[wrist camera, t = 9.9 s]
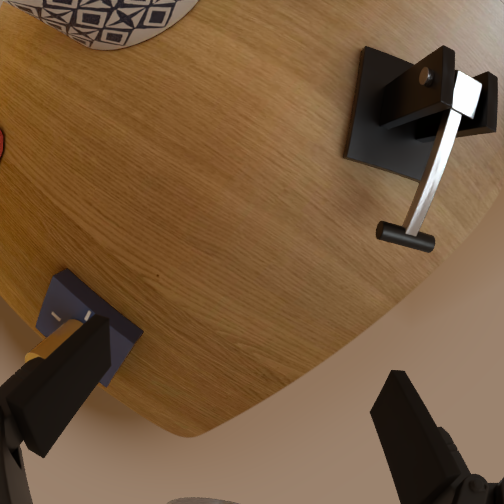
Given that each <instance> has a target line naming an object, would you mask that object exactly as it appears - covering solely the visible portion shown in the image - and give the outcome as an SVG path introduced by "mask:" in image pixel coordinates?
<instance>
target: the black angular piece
mask: <svg viewBox="0 0 504 504" xmlns="http://www.w3.org/2000/svg"><path fill="white" fill-rule="evenodd" d="M454 75H455V51H454V50H452V49H450V48H448V47H446V46H444V45H442V46H441V47H440V48H438V49H437V50H435V51H434V52H432V53H431V54H429V55H428V56H426V57H425V58H424V59H422V60H421V61H419V62H418V63H416V64H415V65H414V64H412V63H409V62H407V61H404V60H402V59H400V58H397V57H395V56H392V55H389V54H387V53H384V52H381V51H379V50H376V49H373V48H370V47H367V46H365V47H364V48H363V50H362V51H361V58H360V64H359V71H358V78H357V84H356V90H355V96H354V102H353V108H352V114H351V119H350V125H349V130H348V135H347V140H346V145H345V150H344V155H343V158H344V159H347V160H351V161H354V162H358V163H361V164H365V165H368V166H371V167H374V168H378V169H381V170H384V171H387V172H390V173H393V174H396V175H399V176H402V177H405V178H408V179H411V180H413V181H416V182H419V183H420V181H421V178H422V176H423V173H424V170H425V167H426V165H427V162H428V159H429V156H430V153H431V150H432V147H433V144H434V141H435V138H436V135H437V132H438V128H439V125H440V122H441V118H442V115H443V112H444V110H446V109H449V108H452V107H453V95H454ZM472 78H473V79H475V80H476V81H478V82H480V83H481V84H482V88H481V92H480V96H479V100H478V104H477V107H476V111H475V115H474V118H473V119H471V118H468V117H466V116H463V115H462V117H461V121H460V124H459V127H458V131H457V134H456V137H463V136H470V135H477V134H485V133H493V132H496V127H497V105H498V78H497V77H496V76H495V75H493V74H492V73H490V72H489V71H487V72H485V73H482V74H480V75H477V76H475V77H472ZM456 137H455V138H456Z"/></svg>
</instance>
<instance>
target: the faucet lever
mask: <svg viewBox="0 0 504 504" xmlns="http://www.w3.org/2000/svg"><path fill="white" fill-rule="evenodd" d="M481 88H482V84H481V83H480V82H478V81H476V80H475V79H473V78H471V77H470V76H468V75H466V74H465V73H463V72H461V71H459V70H455V75H454V95H453V107H452V108H449V109H446V110H444V112H443V115H442V118H441V122H440V125H439V128H438V132H437V135H436V138H435V141H434V144H433V147H432V150H431V153H430V156H429V159H428V162H427V165H426V167H425V170H424V173H423V176H422V178H421V181H420V183H419V186H418V189H417V191H416V194H415V196H414V199H413V201H412V204H411V206H410V209H409V211H408V213H407V216H406V218H405V221H404V223H403V225H402V226H399V225H395V224H392V223H388V222H385V221H380V222H379V223H378V225H377V228H376V238H377V239H379V240H383V241H387V242H391V243H394V244H398V245H402V246H406V247H409V248H413V249H417V250H420V251H424V252H428V253H429V252H431V251H432V250H433V249H434V246H435V238H434V236H432V235H429V234H426V233H423V232H419V229H420V227H421V225H422V223H423V220H424V218H425V216H426V214H427V211H428V209H429V207H430V204H431V202H432V200H433V197H434V195H435V192H436V190H437V187H438V185H439V182H440V179H441V177H442V174H443V172H444V169H445V166H446V163H447V161H448V158H449V155H450V152H451V149H452V146H453V143H454V140H455V137H456V134H457V131H458V127H459V124H460V121H461V117H462V115H463V116H466V117H468V118H471V119H473V118H474V115H475V111H476V107H477V104H478V100H479V96H480V92H481Z"/></svg>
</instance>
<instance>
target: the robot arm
mask: <svg viewBox="0 0 504 504" xmlns="http://www.w3.org/2000/svg"><path fill="white" fill-rule="evenodd" d="M110 367H111V350H110V327H109V318H108V317H104V316H101V315H98V314H94V315H93V316H92V317H91V318H90V319H89V320H88V321H86V322H85V323H84V324H83V325H82V326H81V327H80V328H79V329H77V330H76V331H75V332H74V333H73V334H72V335H71V336H70V337H69V338H67V339H66V340H65V341H64V342H63V343H62V344H61V345H60V346H59V347H58V348H57V349H55V350H54V351H53V352H52V353H51V354H50V355H49V356H48V357H47V358H46V359H44V358H41V357H39V356H38V357H36V358H34V359H31V360H29V361H28V362H26V363H25V364H24V365H23V366H22V367H21V369H19V370H18V371H17V372H15V375H12V376H11V377H10V378H9V379H8V380H7V381H6V382H5V383H4V384H3V385H1V387H0V504H33V503H32V499H31V495H30V491H29V487H28V482H27V478H26V473H25V468H24V463H23V457H22V451H21V448H20V444H21V442H22V441H23V440H24V442H25V444H26V446H27V448H28V449H29V450H31V451H32V452H34V453H36V454H37V455H39V456H41V457H42V458H45V456H46V455H47V453H48V452H49V450H50V449H51V447H52V446H53V445H54V443H55V442H56V440H57V439H58V437H59V436H60V435H61V433H62V432H63V430H64V429H65V427H66V426H67V425H68V423H69V422H70V421H71V419H72V418H73V416H74V415H75V414H76V412H77V411H78V410H79V408H80V407H81V405H82V404H83V403H84V401H85V400H86V399H87V397H88V396H89V395H90V393H91V392H92V391H93V389H94V388H95V386H96V385H97V384H98V383H99V381H100V380H101V379H102V377H103V376H104V375H105V373H106V372H107V371H108V369H109V368H110ZM370 414H371V417H372V419H373V422H374V425H375V428H376V431H377V433H378V436H379V439H380V442H381V445H382V447H383V451H384V453H385V456H386V459H387V462H388V465H389V468H390V471H391V474H392V477H393V481H394V484H395V487H396V490H397V493H398V496H399V500H400V503H401V504H504V478H503V479H502V480H501V481H500V482H499V483H487V481H486V480H485V479H484V478H483V477H482V476H480V475H477V474H471V473H470V471H469V470H468V468H467V466H466V464H465V462H464V460H463V458H462V456H461V454H460V453H459V451H457V447H456V445H455V444H453V443H454V442H453V440H452V438H451V437H450V435H449V433H447V432H446V431H445V430H444V429H443V428H442V427H437V426H436V424H435V422H434V421H433V419H432V417H431V415H430V414H429V412H428V410H427V408H426V406H425V405H424V403H423V401H422V400H421V398H420V396H419V394H418V393H417V391H416V389H415V388H414V386H413V384H412V383H411V381H410V379H409V378H408V376H407V374H406V373H405V371H399V370H391V372H390V374H389V376H388V378H387V380H386V382H385V384H384V386H383V388H382V390H381V392H380V394H379V396H378V398H377V400H376V401H375V403H374V405H373V407H372V409H371V411H370Z"/></svg>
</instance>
